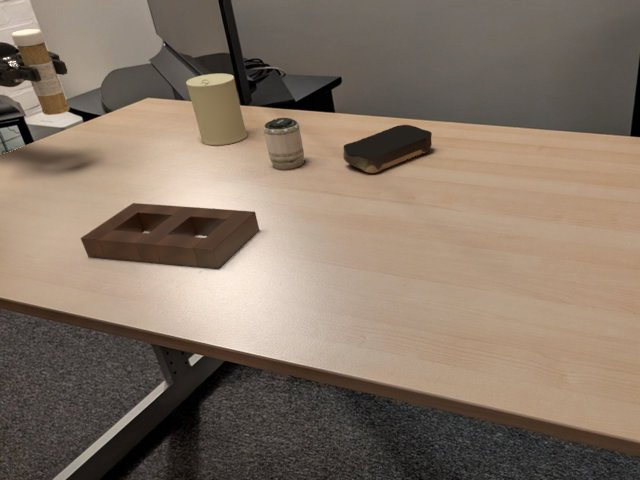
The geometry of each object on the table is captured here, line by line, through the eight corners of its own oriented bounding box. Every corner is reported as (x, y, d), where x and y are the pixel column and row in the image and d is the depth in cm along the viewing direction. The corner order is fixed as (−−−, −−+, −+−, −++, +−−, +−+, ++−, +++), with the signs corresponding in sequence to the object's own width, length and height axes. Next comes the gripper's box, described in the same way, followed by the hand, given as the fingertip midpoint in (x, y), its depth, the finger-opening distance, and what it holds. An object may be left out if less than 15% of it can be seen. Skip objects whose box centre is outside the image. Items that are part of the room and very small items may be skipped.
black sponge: (406, 141, 127) (404, 122, 125) (436, 151, 122) (435, 131, 120) (340, 166, 118) (337, 146, 116) (370, 177, 113) (367, 157, 111)
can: (194, 146, 130) (177, 84, 123) (210, 131, 138) (194, 71, 131) (240, 144, 130) (225, 82, 123) (252, 129, 137) (239, 70, 130)
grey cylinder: (264, 168, 119) (255, 125, 114) (282, 156, 123) (273, 114, 119) (295, 171, 117) (286, 127, 112) (311, 159, 122) (304, 116, 117)
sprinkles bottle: (45, 110, 118) (13, 30, 110) (72, 106, 120) (42, 27, 112) (41, 117, 115) (7, 35, 107) (69, 113, 116) (38, 32, 108)
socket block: (88, 257, 93) (80, 238, 92) (139, 220, 103) (132, 202, 101) (218, 269, 89) (213, 249, 87) (259, 229, 98) (255, 211, 96)
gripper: (-58, 49, 112) (1, 57, 105) (20, 33, 122) (79, 39, 115) (-37, 94, 116) (21, 105, 109) (37, 75, 126) (94, 83, 119)
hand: (50, 71), depth 112 cm, fingers closed on sprinkles bottle, 4 cm apart
